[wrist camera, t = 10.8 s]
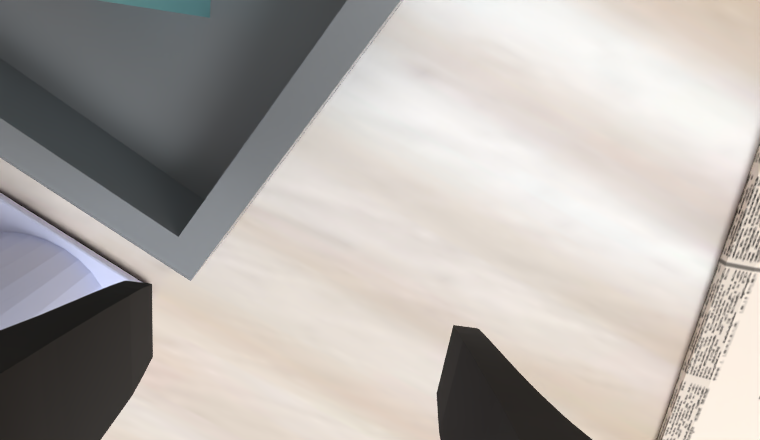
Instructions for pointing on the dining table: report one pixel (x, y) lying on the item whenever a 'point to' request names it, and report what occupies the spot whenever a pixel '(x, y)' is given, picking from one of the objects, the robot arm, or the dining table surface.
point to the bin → (170, 106)
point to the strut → (172, 5)
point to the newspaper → (725, 341)
